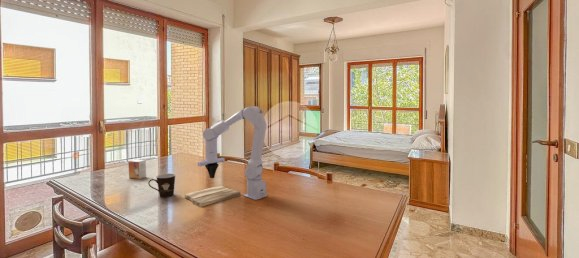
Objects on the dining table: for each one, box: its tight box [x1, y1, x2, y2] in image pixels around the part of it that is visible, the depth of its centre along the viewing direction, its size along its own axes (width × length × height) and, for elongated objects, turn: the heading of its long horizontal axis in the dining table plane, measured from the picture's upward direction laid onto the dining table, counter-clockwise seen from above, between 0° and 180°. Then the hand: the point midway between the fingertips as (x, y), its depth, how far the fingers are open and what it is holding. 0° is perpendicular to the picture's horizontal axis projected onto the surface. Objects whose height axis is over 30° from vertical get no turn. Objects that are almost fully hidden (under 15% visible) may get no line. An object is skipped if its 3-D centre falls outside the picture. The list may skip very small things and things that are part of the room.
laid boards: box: [192, 188, 242, 208], centre depth 140 cm, size 7×22×2 cm, turn 137°
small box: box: [128, 159, 147, 180], centre depth 179 cm, size 8×6×10 cm
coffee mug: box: [147, 173, 176, 198], centre depth 145 cm, size 12×9×10 cm
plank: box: [184, 185, 230, 202], centre depth 146 cm, size 8×20×2 cm, turn 137°
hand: (212, 177), depth 150 cm, fingers closed
